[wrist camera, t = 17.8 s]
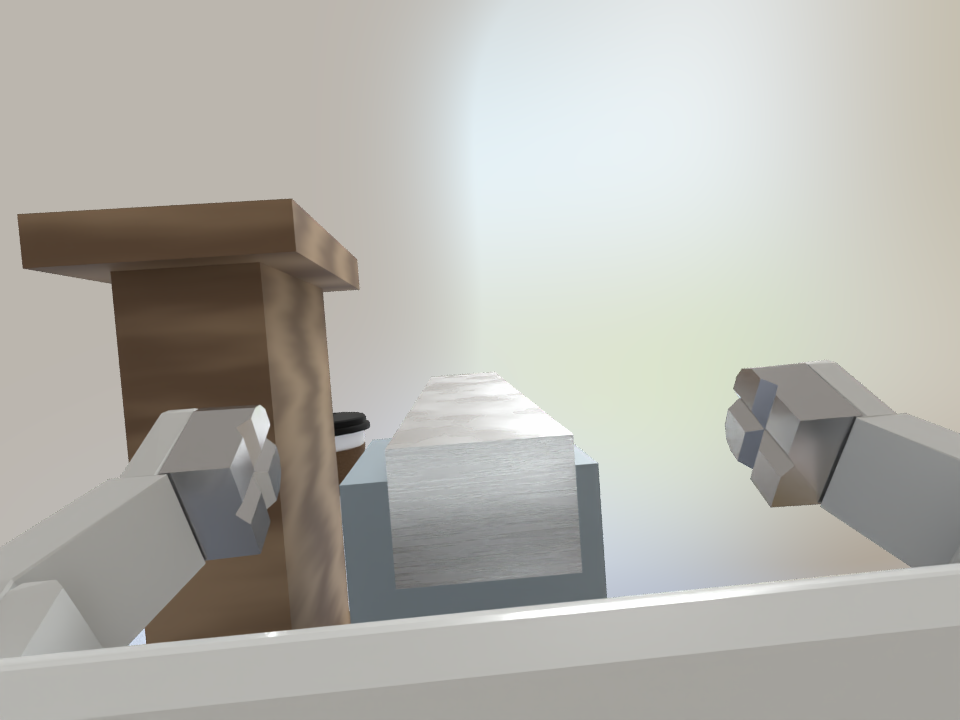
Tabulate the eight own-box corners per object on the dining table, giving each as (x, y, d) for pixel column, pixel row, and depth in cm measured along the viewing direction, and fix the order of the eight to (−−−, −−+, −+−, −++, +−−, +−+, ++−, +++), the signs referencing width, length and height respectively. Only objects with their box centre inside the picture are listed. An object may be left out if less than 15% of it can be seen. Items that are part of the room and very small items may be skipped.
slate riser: (622, 834, 23) (598, 463, 22) (370, 865, 22) (339, 485, 21) (568, 683, 33) (550, 425, 32) (393, 702, 32) (372, 439, 31)
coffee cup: (296, 507, 74) (288, 415, 73) (380, 499, 75) (373, 408, 74) (273, 535, 63) (264, 428, 63) (372, 525, 64) (364, 420, 64)
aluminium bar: (582, 572, 12) (573, 434, 12) (395, 588, 12) (384, 449, 12) (497, 418, 36) (494, 371, 36) (435, 423, 36) (431, 376, 36)
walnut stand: (342, 881, 21) (284, 191, 20) (69, 916, 21) (-5, 207, 20) (389, 635, 39) (359, 261, 38) (243, 650, 39) (208, 271, 38)
